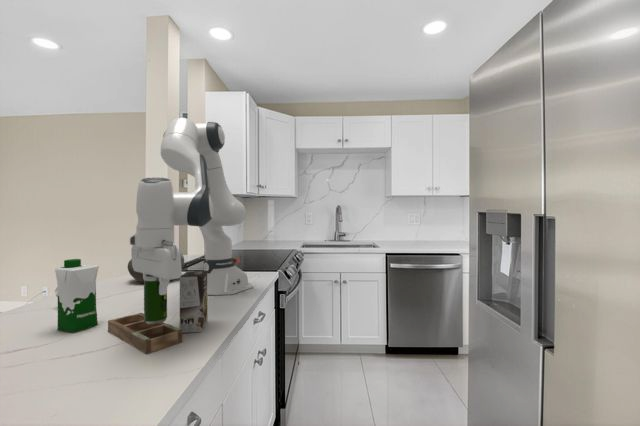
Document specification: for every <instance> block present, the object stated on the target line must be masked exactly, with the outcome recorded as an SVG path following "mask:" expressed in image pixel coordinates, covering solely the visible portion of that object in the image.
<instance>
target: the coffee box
mask: <svg viewBox="0 0 640 426" xmlns="http://www.w3.org/2000/svg"><path fill="white" fill-rule="evenodd" d="M208 308H209V307H208V295H207V271H204V270H194V271H185V273H182V274H181V276H180V278H179V329H180V330H182V334H186V333H202V332H203V330H204V329H205V327H206V325H207V324H208V315H209V314H208Z"/></svg>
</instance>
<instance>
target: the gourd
mask: <svg viewBox="0 0 640 426" xmlns="http://www.w3.org/2000/svg"><path fill="white" fill-rule="evenodd" d="M180 257H181V269H182V270H183V269H184V267H185V258H184V255H183V254H182V252H180ZM127 271H128V272H129V275H130V276H131V277H132V279H134V280H136V281H138V282H140V283H143V284H144V279H143V273H140V272H136V271H134V269H133V267H132V258H131V259H130V260H129V261H128V263H127Z"/></svg>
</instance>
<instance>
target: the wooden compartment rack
mask: <svg viewBox="0 0 640 426" xmlns="http://www.w3.org/2000/svg"><path fill="white" fill-rule="evenodd" d="M107 331H108V332H109V333H111V334H112V335H114V336H115V337H117V338H119V339H120V340H122V341H124V342H125V343H127V344H129V345H131V346H132V347H133V348H135V349H137V350H138V351H140V352H142V353H144V354H145V355H148V354H151V353H154V352H157V351H159V350H163V349H167V348H169V347H172V346H174V345H178V344H180V343H183V333H182V330H180V327H177V326H175V325H172V324H170V323H166V322H165V321H164V322H161V323H158V324H147V323H145V321H144V312H138V313H134V314H130V315H127V316H121V317H118V318H114V319H108V320H107Z"/></svg>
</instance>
